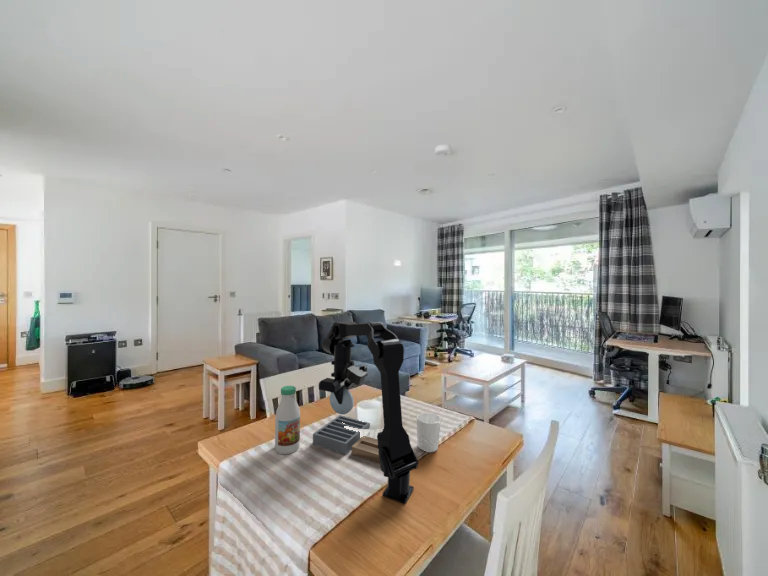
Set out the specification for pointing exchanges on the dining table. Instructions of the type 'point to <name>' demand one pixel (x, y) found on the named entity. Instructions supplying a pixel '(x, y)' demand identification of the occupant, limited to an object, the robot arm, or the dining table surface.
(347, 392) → the plate
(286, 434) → the milk bottle
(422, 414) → the white cup
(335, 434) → the dish rack
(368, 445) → the plate stand
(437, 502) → the dining table surface
